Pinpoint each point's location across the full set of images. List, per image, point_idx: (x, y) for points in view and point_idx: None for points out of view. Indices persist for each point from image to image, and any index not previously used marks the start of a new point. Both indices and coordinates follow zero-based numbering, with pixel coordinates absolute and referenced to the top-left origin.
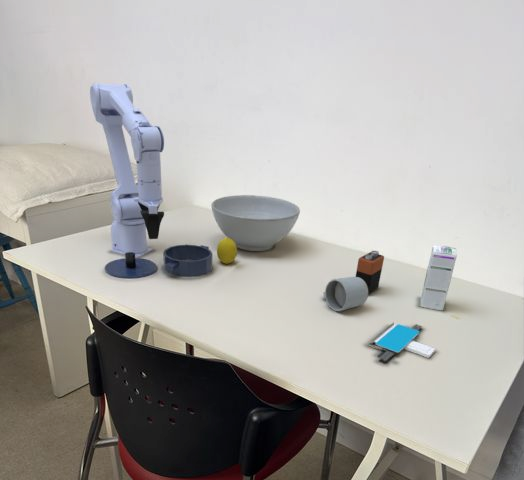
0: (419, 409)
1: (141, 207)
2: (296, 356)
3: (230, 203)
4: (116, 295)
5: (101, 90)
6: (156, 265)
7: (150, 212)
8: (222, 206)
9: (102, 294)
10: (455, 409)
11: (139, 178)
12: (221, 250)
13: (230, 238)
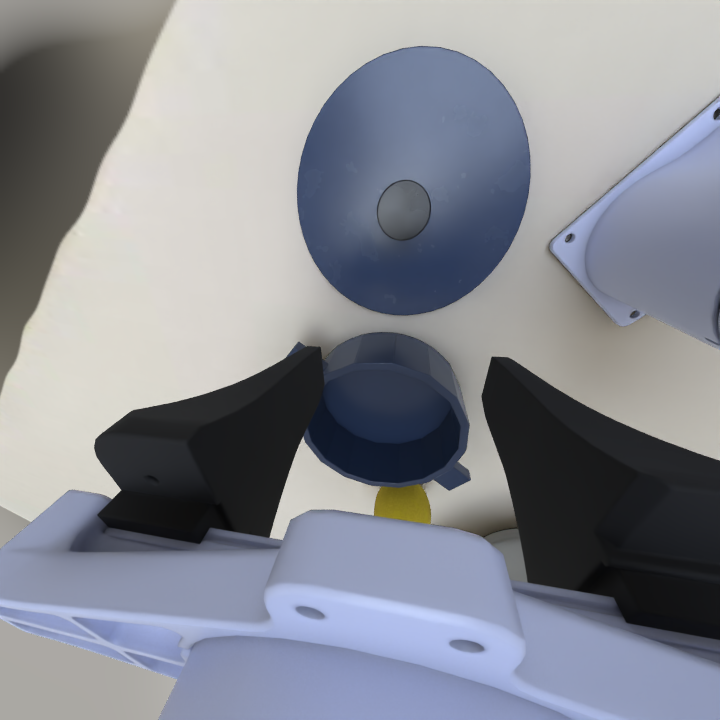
0: (13, 493)
1: (590, 460)
2: (53, 447)
3: None
4: (168, 136)
5: None
6: (402, 314)
7: (64, 510)
8: None
9: (162, 63)
10: (30, 512)
11: None
12: (383, 507)
13: (519, 546)
